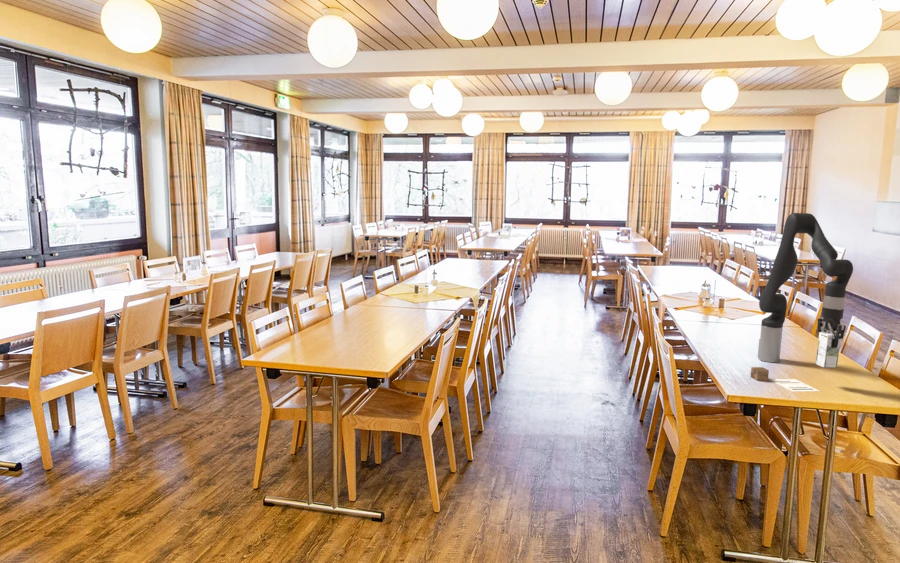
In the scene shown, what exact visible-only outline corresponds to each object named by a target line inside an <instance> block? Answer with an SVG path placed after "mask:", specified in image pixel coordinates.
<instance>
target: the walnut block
mask: <svg viewBox="0 0 900 563" xmlns="http://www.w3.org/2000/svg"><path fill="white" fill-rule="evenodd" d="M769 373H770V372H769V369H767V368H765V367H763V366H751V369H750V379H751V378H752V379H753V380H754V381H757V382H759V381H760V382H761V381H762V382H763V381H769V375H770V374H769Z"/></svg>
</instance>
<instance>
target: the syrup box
mask: <svg viewBox="0 0 900 563" xmlns="http://www.w3.org/2000/svg"><path fill="white" fill-rule="evenodd" d="M818 333H819V334H818V339H817V340H818V342H817V349H816V355H815V356H816V357H815V365H817V366H819V367H822V368H825V369H831V368H832V369H837V368H838V362H839V354H840V347H841V340H842V339H839V340H838V346H837V348H832V347H831V343H832V334H831V333H830V331H829V332H818ZM840 335H841V334H839V336H840ZM835 336H836V334H835Z"/></svg>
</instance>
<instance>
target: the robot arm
mask: <svg viewBox="0 0 900 563" xmlns="http://www.w3.org/2000/svg"><path fill="white" fill-rule="evenodd" d="M797 234H807V235H808V236H809V237H811V240H812V241H811V250H812V253H813V254H814V255H815V256H816V257H817V259H818V260H819V262H820V266H821V269H822V272H823V274H825V275H826V276H828V277H835V279H834V280H832V281H828V282H827V283H826V284H825V289H824V296H823V301H822V311H821V317H822V318H821V317H820V318H817V332H818V333H819V332H830V333H831V334H832V343H831V347H832V348H837V346H838V340H839V339H841V340H843V339H844V336H845V332H846V327H847V326H846V325H845V324H841V320H842V319H843V318H844V311H845V304H846V303H845V296H846V289H847V286H848V283H849V282H850V279H851V277H852V275H853V272H854V265H853V263H852V262H851V260H848V259H838V256H839V254H838V251H837V250H836V249H835V248H834V246H833V245H832V244H831V243H830V242H829V240H828V239H827V237H826V235H825V234H824V231H823V229H822V228H821V225H820V223H819V222H818V220H817V218H816V217H815V216H814V214H811V213H806V212H792V213H790V214H789V215H788V216H787V217H786V219H785V223H784V227H783V231H782V236H781V240H780V245H779V248H778V251H777V253H776V256H775V259H774V262H773V264H772V269H771V271H770V274H769V278H768V280H767V283H766V285H765V287H764V289H763V291H762V293H761V295H760V298H759V301H758V302H759V303H758V306H759V309H760V311H761V312H763V313H767V314H769V315H768V316H767V317H765V318H763V319H762V320H761V323H760V324H761V327H760V337H759V339H758V348H757V358H758V360H759V361H763V362H765V363H766V362H767V363H779V362H780V359H781V351H782V350H781V349H782V339H783V338H782V337H783V327H784V324H785V321H786V314H787V308H788V301H787V297H786V296H785V295H784V294H782V293H777V292H778V291H779V289H780V288H781V287H782V286H783V285H784V284H785V283H786V282H787V281H789V279H791V277H792V276H793V274H794V273H795V270H796V268H797V265H798V262H799V259H798V255H797V251H796V249H795V245H794V243H795V238H796V236H797ZM770 313H771V314H770ZM835 334H836V336H835ZM839 335H840V336H839Z"/></svg>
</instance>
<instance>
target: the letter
mask: <svg viewBox="0 0 900 563" xmlns="http://www.w3.org/2000/svg"><path fill="white" fill-rule="evenodd" d="M769 380H770V381H772V382H773V383H775V384H777V385H779V386H781V387H783V388H785V389H786V390H789V391H791V392H793V393H795V392H820V390H819V389H817V388H814V387H813V386H811V385H809V384H807V383H804V382H803V381H800V380H798V379H796V378H785V379H784V378H783V379H782V378H779V379H778V378H776V379H773V378H772V379H769V378H768V381H769Z"/></svg>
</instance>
